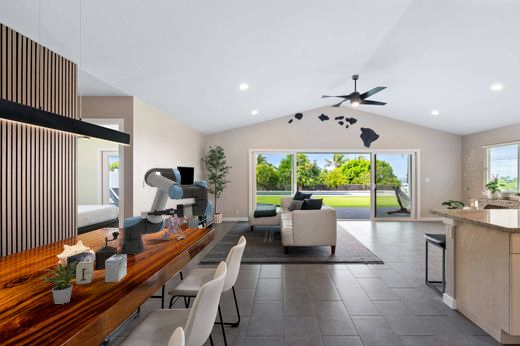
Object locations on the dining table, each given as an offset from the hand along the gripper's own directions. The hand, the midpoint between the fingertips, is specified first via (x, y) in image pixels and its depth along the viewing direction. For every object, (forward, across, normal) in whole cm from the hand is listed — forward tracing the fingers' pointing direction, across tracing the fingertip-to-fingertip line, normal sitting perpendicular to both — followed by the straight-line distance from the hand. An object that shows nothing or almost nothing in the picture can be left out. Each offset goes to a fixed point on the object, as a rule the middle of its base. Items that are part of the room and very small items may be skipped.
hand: (143, 214), depth 154 cm
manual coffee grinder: (+25, +22, -28) cm, 43 cm away
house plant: (+28, -26, -33) cm, 51 cm away
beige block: (+28, -4, -30) cm, 41 cm away
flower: (-5, +80, -23) cm, 84 cm away
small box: (+34, +7, -28) cm, 45 cm away
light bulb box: (+14, -2, -31) cm, 34 cm away
